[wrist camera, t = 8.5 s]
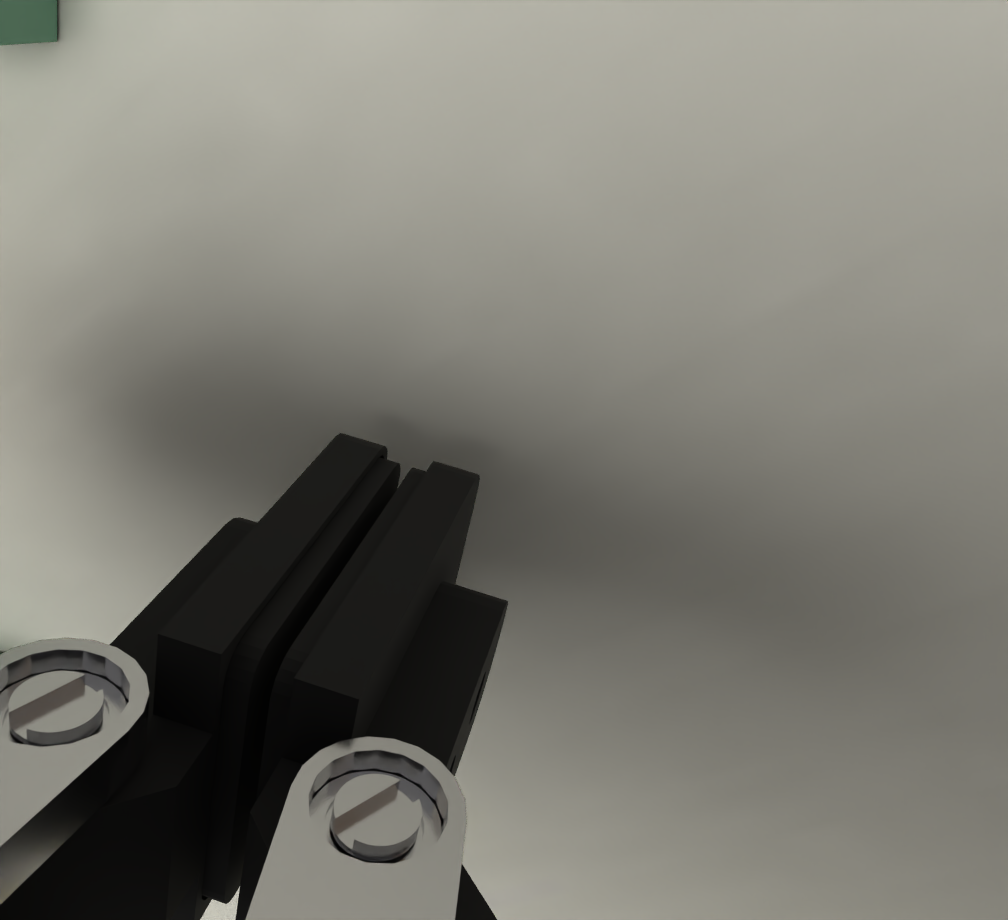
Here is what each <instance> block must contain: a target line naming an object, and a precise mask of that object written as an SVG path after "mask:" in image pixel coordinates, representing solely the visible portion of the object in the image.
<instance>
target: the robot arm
mask: <svg viewBox="0 0 1008 920" xmlns="http://www.w3.org/2000/svg"><path fill="white" fill-rule="evenodd" d="M399 477H400V464H399V463H396V462H393V461H389V460H387V448H386V447H385V446H382V445H379V444H375V443H372V442H369V441H366V440H362V439H359V438H356V437H352V436H349V435H346V434H342V433H340V434H338V435H337V436H336V437H335V438H334V439H333V440H332V441H331V442H330V443H329V445H328V446H327V447H326V448H325V449H324V450H323V451H322V452H321V453H320V455H319V456H318V457H317V458H316V459H315V460H314V461H313V462H312V463H311V465H310V466H309V467H308V468H307V469H306V470H305V471H304V472H303V473H302V474H301V476H300V477H299V478H298V479H297V480H296V481H295V482H294V483H293V484H292V486H291V487H290V488H289V489H288V490H287V491H286V492H285V493H284V494H283V496H282V497H281V498H280V499H279V500H278V501H277V502H276V503H275V504H274V506H273V507H272V508H271V509H270V510H269V511H268V512H267V513H266V514H265V516H264V517H263V518H262V519H261V520H260V521H259V522H258V523H256V522H253V521H250V520H246V519H243V518H233V519H232V520H231V521H229V522H228V523H227V524H226V525H225V526H224V527H223V528H222V529H221V530H220V531H219V532H218V533H217V534H216V535H215V536H214V537H213V538H212V539H211V540H210V541H209V542H208V543H207V544H206V545H205V546H204V547H203V548H202V549H201V550H200V552H199V553H198V554H197V555H196V556H195V557H194V558H193V559H192V560H191V561H190V562H189V563H188V564H187V565H186V566H185V567H184V568H183V569H182V570H181V571H180V572H179V573H178V574H177V575H176V576H175V578H174V579H173V580H172V581H171V582H170V583H169V584H168V585H167V586H166V587H165V588H164V589H163V590H162V591H161V592H160V593H159V594H158V595H157V596H156V597H155V598H154V599H153V600H152V601H151V602H150V604H149V605H148V606H147V607H146V608H145V609H144V610H143V611H142V612H141V613H140V614H139V615H138V616H137V617H136V618H135V619H134V620H133V621H132V622H131V623H130V624H129V625H128V626H127V627H126V628H125V630H124V631H123V632H122V633H121V634H120V635H119V636H118V637H117V638H116V639H115V640H114V641H113V642H112V643H111V644H110V645H107V644H104V643H101V642H98V641H95V640H87V639H76V638H59V639H49V640H39V641H36V642H32V643H29V644H25V645H22V646H18V647H15V648H12V649H10V650H8V651H6V652H4V653H2V654H0V920H200V919H201V917H202V915H203V914H204V912H205V910H206V908H207V907H208V905H209V903H210V901H211V900H212V899H214V900H217V901H219V902H222V903H225V904H227V903H229V902H230V900H231V899H232V898H233V896H234V895H235V893H236V891H237V890H238V888H239V886H240V891H239V899H238V906H237V914H236V920H497V919H496V917H495V915H494V914H493V912H492V911H491V909H490V908H489V906H488V904H487V903H486V901H485V900H484V898H483V896H482V895H481V893H480V892H479V890H478V889H477V887H476V885H475V884H474V882H473V881H472V879H471V877H470V876H469V874H468V873H467V871H466V869H465V868H464V866H463V865H462V857H463V849H464V841H465V833H466V824H467V816H466V802H465V797H464V795H463V793H462V791H461V789H460V786H459V784H458V782H457V780H456V778H455V777H454V776H455V774H456V771H457V768H458V765H459V762H460V759H461V757H462V754H463V751H464V748H465V745H466V742H467V739H468V737H469V734H470V731H471V728H472V725H473V722H474V719H475V716H476V713H477V710H478V707H479V704H480V701H481V698H482V695H483V691H484V688H485V685H486V682H487V678H488V675H489V672H490V668H491V665H492V661H493V658H494V654H495V651H496V647H497V643H498V640H499V636H500V632H501V629H502V625H503V621H504V618H505V614H506V610H507V605H508V601H506V600H502V599H499V598H496V597H493V596H490V595H486V594H483V593H480V592H477V591H474V590H470V589H467V588H464V587H461V586H458V585H455V582H456V578H457V574H458V570H459V566H460V561H461V557H462V553H463V549H464V545H465V541H466V536H467V532H468V528H469V524H470V520H471V516H472V511H473V507H474V503H475V499H476V495H477V490H478V486H479V479H480V476H479V475H478V474H475V473H472V472H468V471H465V470H462V469H458V468H455V467H452V466H448V465H445V464H442V463H439V462H435V461H433V463H432V464H431V465H430V467H429V468H428V470H427V471H422V470H419V469H416V468H412V469H411V470H410V471H409V473H408V474H407V476H406V477H405V479H404V480H403V482H402V483H401V485H400V486H399V488H398V489H397V487H398V482H399Z"/></svg>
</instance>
